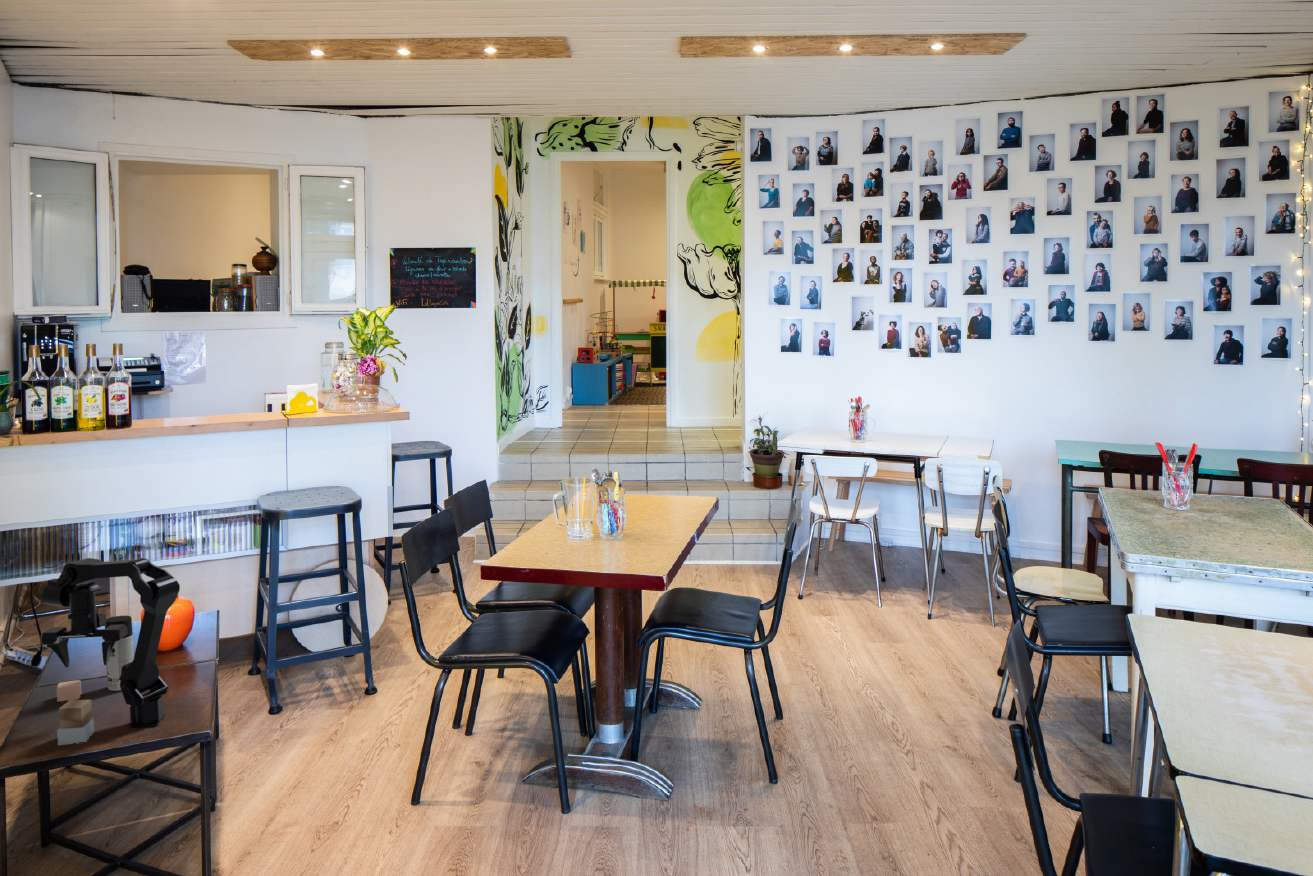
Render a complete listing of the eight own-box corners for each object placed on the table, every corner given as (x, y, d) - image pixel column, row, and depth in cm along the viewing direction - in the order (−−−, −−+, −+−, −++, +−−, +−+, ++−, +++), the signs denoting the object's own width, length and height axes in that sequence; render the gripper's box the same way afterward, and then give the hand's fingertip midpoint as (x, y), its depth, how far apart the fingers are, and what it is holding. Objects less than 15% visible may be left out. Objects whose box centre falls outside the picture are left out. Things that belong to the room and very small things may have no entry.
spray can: (110, 684, 258) (106, 616, 256) (137, 681, 260) (133, 613, 258) (105, 693, 252) (101, 623, 249) (133, 690, 254) (129, 620, 252)
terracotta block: (81, 693, 252) (80, 680, 251) (79, 700, 247) (78, 686, 247) (59, 697, 249) (58, 683, 249) (57, 703, 245) (56, 689, 244)
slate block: (94, 732, 227) (93, 717, 227) (86, 743, 222) (84, 727, 221) (66, 735, 226) (65, 720, 225) (58, 746, 220) (56, 730, 219)
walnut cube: (92, 718, 226) (90, 699, 226) (82, 727, 221) (81, 707, 221) (70, 719, 226) (69, 700, 225) (60, 728, 221) (58, 708, 220)
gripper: (134, 597, 244) (137, 653, 246) (58, 600, 241) (62, 657, 243) (116, 609, 233) (120, 668, 235) (37, 613, 230) (41, 672, 232)
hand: (86, 665), depth 237 cm, fingers open, 9 cm apart
